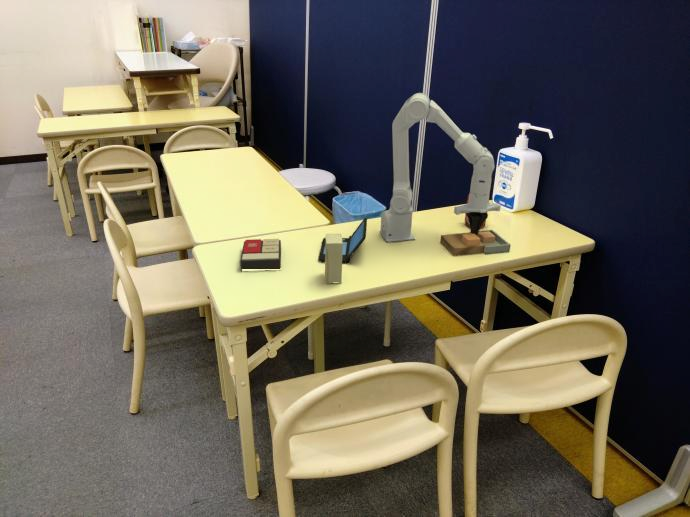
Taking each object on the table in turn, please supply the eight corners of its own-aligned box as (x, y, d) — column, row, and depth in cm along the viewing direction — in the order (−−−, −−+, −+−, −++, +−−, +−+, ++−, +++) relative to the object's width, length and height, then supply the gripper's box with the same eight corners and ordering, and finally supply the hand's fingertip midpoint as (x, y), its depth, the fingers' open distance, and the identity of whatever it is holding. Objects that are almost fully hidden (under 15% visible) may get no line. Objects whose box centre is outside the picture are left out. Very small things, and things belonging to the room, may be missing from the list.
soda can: (485, 230, 173) (490, 196, 168) (464, 228, 174) (468, 194, 169) (485, 222, 179) (489, 189, 174) (464, 220, 181) (468, 187, 175)
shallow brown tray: (453, 256, 156) (454, 248, 154) (440, 242, 164) (440, 235, 163) (484, 252, 158) (485, 245, 157) (469, 239, 166) (470, 232, 165)
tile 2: (467, 246, 156) (468, 240, 155) (461, 240, 159) (462, 234, 159) (479, 244, 157) (480, 238, 156) (473, 239, 160) (474, 233, 159)
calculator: (280, 237, 158) (280, 257, 144) (281, 250, 160) (280, 271, 146) (243, 238, 157) (239, 258, 143) (244, 251, 159) (240, 272, 145)
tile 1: (495, 236, 163) (494, 242, 164) (489, 231, 166) (488, 237, 167) (483, 237, 162) (482, 243, 163) (477, 232, 165) (477, 238, 166)
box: (485, 254, 157) (486, 247, 156) (468, 238, 167) (469, 231, 166) (509, 251, 159) (510, 244, 158) (491, 236, 169) (492, 229, 168)
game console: (323, 241, 165) (323, 214, 160) (366, 242, 164) (367, 216, 160) (317, 263, 151) (317, 234, 147) (364, 265, 150) (365, 236, 146)
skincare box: (324, 273, 145) (324, 233, 139) (340, 272, 145) (341, 232, 140) (325, 284, 139) (325, 243, 134) (342, 284, 140) (343, 242, 134)
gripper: (463, 198, 152) (458, 241, 158) (508, 195, 155) (501, 236, 161) (453, 190, 158) (448, 231, 164) (496, 187, 161) (490, 227, 167)
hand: (474, 233), depth 163 cm, fingers closed
